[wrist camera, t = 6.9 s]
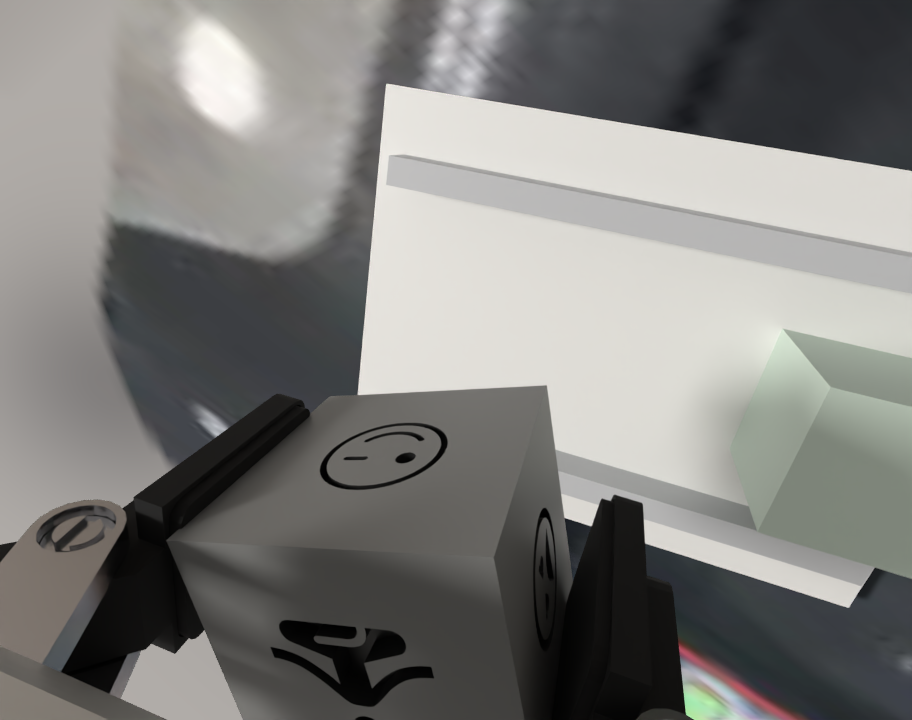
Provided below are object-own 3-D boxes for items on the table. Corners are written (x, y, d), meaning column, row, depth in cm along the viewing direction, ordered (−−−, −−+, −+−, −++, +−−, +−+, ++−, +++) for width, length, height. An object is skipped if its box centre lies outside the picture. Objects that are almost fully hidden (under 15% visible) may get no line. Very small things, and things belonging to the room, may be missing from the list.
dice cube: (546, 384, 11) (494, 557, 6) (572, 583, 12) (545, 830, 8) (330, 396, 12) (166, 540, 8) (378, 570, 14) (264, 770, 10)
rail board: (1082, 200, 16) (1310, 230, 11) (839, 589, 23) (905, 727, 17) (396, 86, 20) (314, 66, 15) (361, 440, 27) (296, 513, 22)
